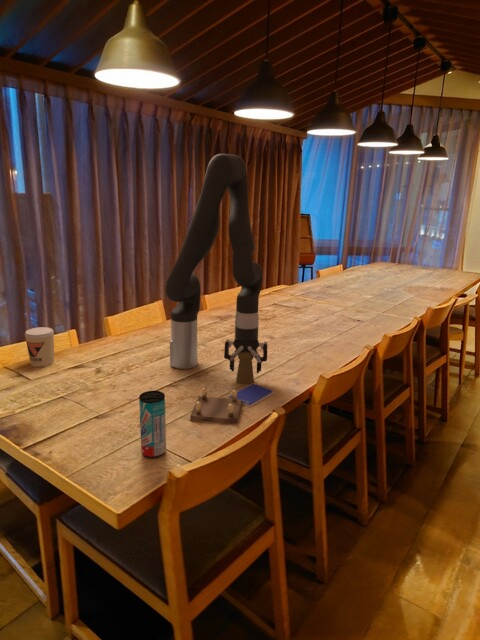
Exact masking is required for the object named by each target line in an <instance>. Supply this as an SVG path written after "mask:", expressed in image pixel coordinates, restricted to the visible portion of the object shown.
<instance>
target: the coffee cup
mask: <svg viewBox="0 0 480 640" xmlns="http://www.w3.org/2000/svg"><path fill="white" fill-rule="evenodd" d="M54 331H55V330H54V329H53V328H52V327H47V326H46V327H44V326H41V327H38V326H37V327H33V328H29V329H27V330H25V332H24V337H25V342H26V347H27V351H28V352H27V353H28V358H29V363H30V365H31V366H32V367H34V368H35V367H36V368H41V367H43V368H44V367H48V366H51V365H53V364H54V363H55V339H54V337H55V334H54V333H55V332H54Z"/></svg>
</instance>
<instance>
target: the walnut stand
mask: <svg viewBox="0 0 480 640" xmlns="http://www.w3.org/2000/svg"><path fill="white" fill-rule="evenodd" d="M237 392H238V389H236V388H234V389H231V395H232V399H229V398H228V397H227V398H226V397H214V396H208V388H207V387H205V386H203V387H201V396H199V395H198V397H197V399H196V401H195V403H194V406H193V408H192V411H191V414H190V415H189V416H190V421H192V422H193V421H194V422H204V423H205V422H207V423H219V424H234V425H238V422H239V421H238V420H239V417H240V414H241V413H240V412H241V408H242V405H243V404H242V399H237Z"/></svg>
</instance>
